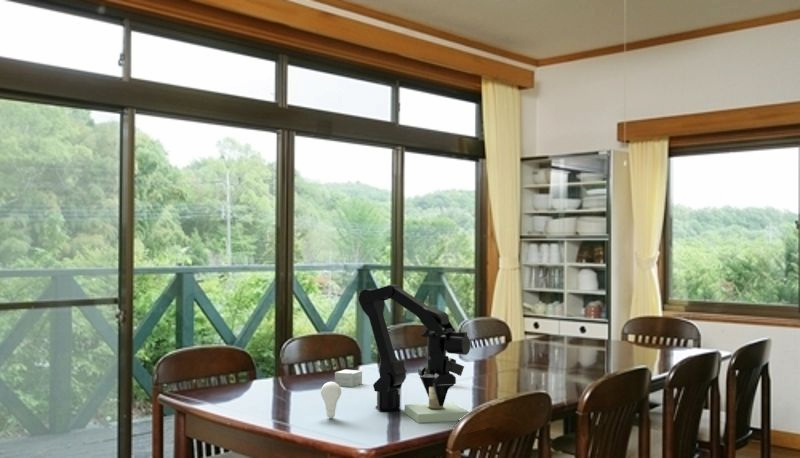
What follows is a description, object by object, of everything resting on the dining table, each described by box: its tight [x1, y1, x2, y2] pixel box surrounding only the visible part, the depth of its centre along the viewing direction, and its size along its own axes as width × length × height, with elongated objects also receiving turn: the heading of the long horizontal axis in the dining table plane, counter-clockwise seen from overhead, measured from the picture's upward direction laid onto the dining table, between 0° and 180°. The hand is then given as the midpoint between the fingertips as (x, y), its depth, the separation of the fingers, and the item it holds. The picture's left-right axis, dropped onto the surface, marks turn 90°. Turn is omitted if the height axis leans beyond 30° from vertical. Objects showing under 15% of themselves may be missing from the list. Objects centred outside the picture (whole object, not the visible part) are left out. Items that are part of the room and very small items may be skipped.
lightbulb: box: [320, 381, 342, 419], centre depth 226 cm, size 6×6×11 cm
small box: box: [334, 369, 363, 388], centre depth 283 cm, size 8×8×5 cm
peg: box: [428, 386, 444, 410], centre depth 230 cm, size 5×5×9 cm
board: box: [404, 401, 470, 424], centre depth 230 cm, size 16×14×2 cm
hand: (436, 403), depth 230 cm, fingers open, 9 cm apart
